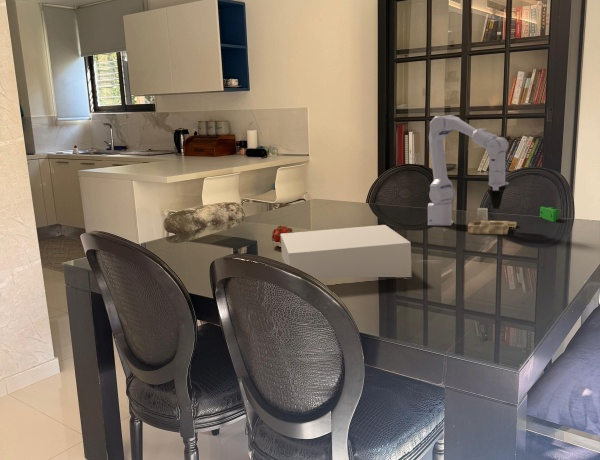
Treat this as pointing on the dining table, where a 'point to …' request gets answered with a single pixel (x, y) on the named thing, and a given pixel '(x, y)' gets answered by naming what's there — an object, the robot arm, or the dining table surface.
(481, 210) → the square bit
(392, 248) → the box
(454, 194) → the robot arm
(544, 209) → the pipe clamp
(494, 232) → the socket block
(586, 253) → the dining table surface
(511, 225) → the tan rectangular block
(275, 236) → the dragon fruit
